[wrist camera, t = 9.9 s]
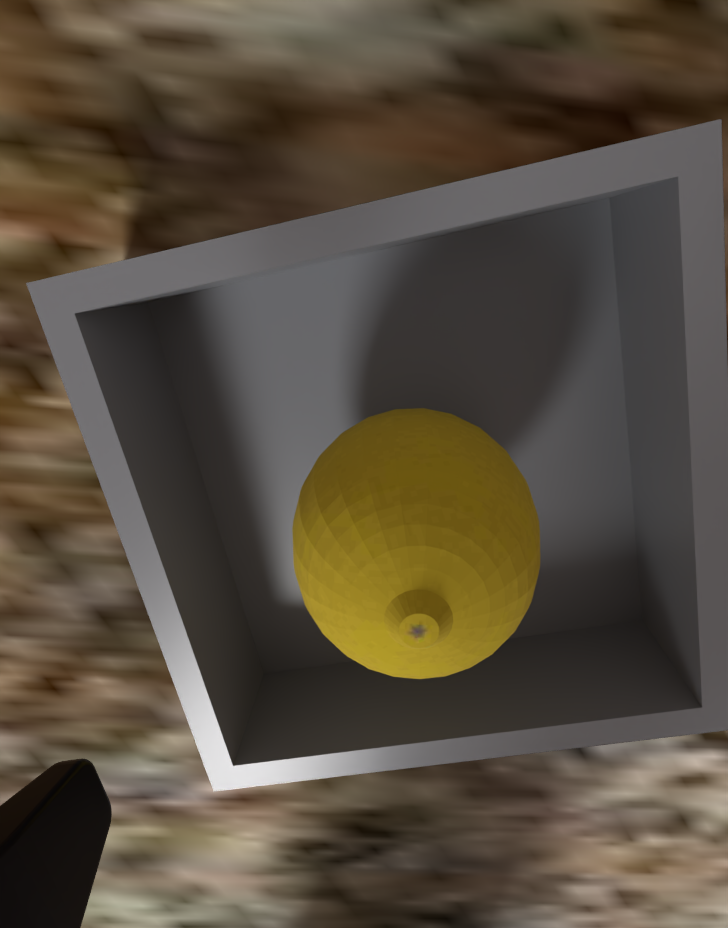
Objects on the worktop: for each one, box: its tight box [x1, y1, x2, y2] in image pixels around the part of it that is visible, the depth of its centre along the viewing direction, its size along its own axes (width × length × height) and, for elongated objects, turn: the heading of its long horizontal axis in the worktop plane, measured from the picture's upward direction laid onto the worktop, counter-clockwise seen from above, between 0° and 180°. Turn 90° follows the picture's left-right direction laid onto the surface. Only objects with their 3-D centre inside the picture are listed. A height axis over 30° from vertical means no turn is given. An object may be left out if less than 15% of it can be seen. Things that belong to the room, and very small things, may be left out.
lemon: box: [292, 408, 540, 679], centre depth 14 cm, size 6×6×8 cm
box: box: [26, 119, 728, 791], centre depth 16 cm, size 14×14×4 cm
